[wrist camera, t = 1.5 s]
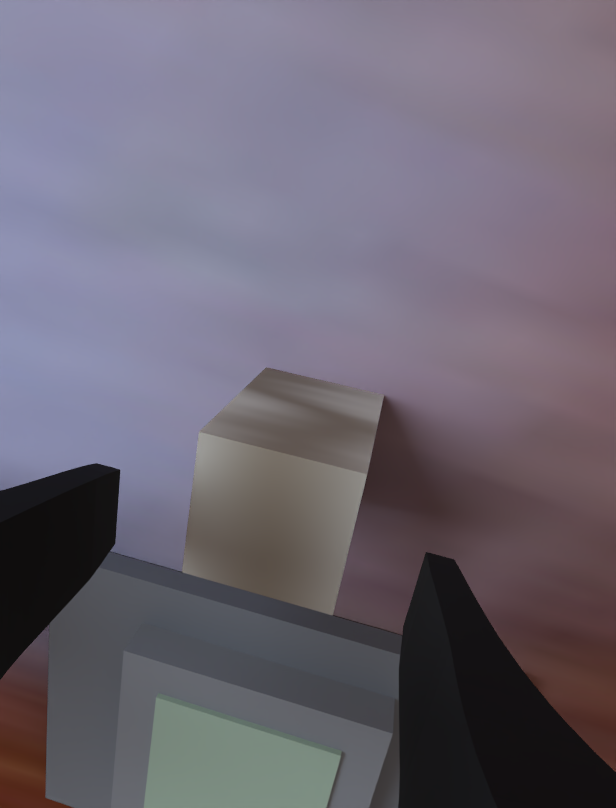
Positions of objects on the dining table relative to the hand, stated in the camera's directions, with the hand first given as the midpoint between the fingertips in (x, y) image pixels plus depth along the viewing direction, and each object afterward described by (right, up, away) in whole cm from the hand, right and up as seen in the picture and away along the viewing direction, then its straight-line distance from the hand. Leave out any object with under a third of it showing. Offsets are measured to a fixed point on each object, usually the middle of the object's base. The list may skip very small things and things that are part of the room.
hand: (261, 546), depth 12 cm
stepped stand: (-1, -11, +11) cm, 16 cm away
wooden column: (+1, +2, +6) cm, 7 cm away
